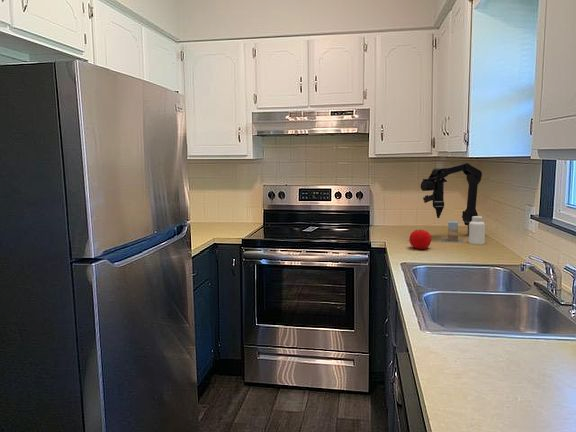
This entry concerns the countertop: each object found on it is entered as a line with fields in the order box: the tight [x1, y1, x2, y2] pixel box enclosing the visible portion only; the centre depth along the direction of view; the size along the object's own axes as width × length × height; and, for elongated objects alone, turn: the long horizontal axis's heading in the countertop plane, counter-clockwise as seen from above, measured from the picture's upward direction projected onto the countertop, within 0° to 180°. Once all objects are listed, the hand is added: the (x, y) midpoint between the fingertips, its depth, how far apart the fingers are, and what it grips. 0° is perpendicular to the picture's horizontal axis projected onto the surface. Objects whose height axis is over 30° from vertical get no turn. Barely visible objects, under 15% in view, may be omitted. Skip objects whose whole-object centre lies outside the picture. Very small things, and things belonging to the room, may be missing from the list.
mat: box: [440, 238, 464, 243], centre depth 263 cm, size 11×12×1 cm
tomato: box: [408, 229, 432, 250], centre depth 244 cm, size 11×13×10 cm
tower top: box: [447, 228, 459, 236], centre depth 262 cm, size 5×5×4 cm
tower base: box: [447, 234, 459, 241], centre depth 262 cm, size 5×5×4 cm
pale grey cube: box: [447, 220, 459, 230], centre depth 261 cm, size 5×5×4 cm
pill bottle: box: [468, 215, 486, 245], centre depth 253 cm, size 8×8×15 cm
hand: (438, 217), depth 269 cm, fingers open, 9 cm apart
